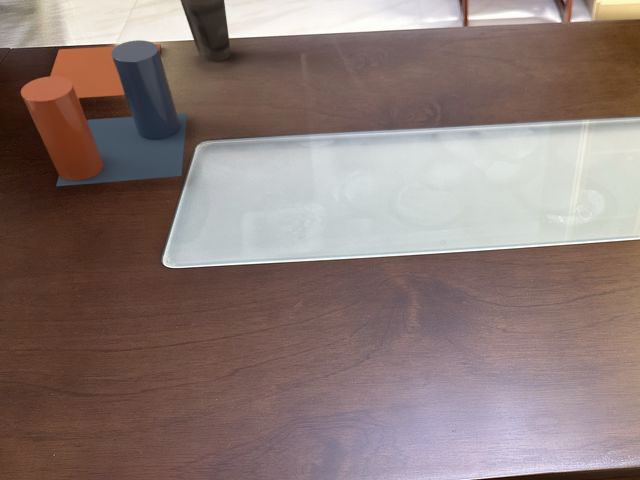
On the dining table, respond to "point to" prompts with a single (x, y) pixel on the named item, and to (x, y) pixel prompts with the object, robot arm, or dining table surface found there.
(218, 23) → the beverage cup
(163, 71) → the navy blue cylinder
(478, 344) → the dining table surface
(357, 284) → the dining table surface
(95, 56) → the terracotta mat
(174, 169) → the blue mat
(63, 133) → the orange cylinder
